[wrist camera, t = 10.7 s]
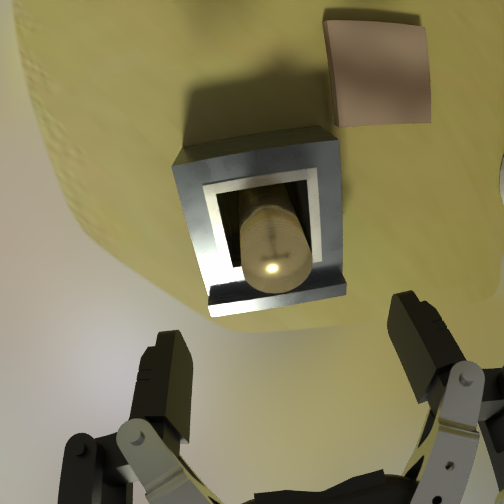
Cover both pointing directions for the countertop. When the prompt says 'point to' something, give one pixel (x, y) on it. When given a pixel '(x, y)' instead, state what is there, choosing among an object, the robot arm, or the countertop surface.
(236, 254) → the grey square frame
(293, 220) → the translucent brown rounded cylinder
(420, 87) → the brown square panel
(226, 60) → the countertop surface
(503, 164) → the mechanical component
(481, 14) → the countertop surface
